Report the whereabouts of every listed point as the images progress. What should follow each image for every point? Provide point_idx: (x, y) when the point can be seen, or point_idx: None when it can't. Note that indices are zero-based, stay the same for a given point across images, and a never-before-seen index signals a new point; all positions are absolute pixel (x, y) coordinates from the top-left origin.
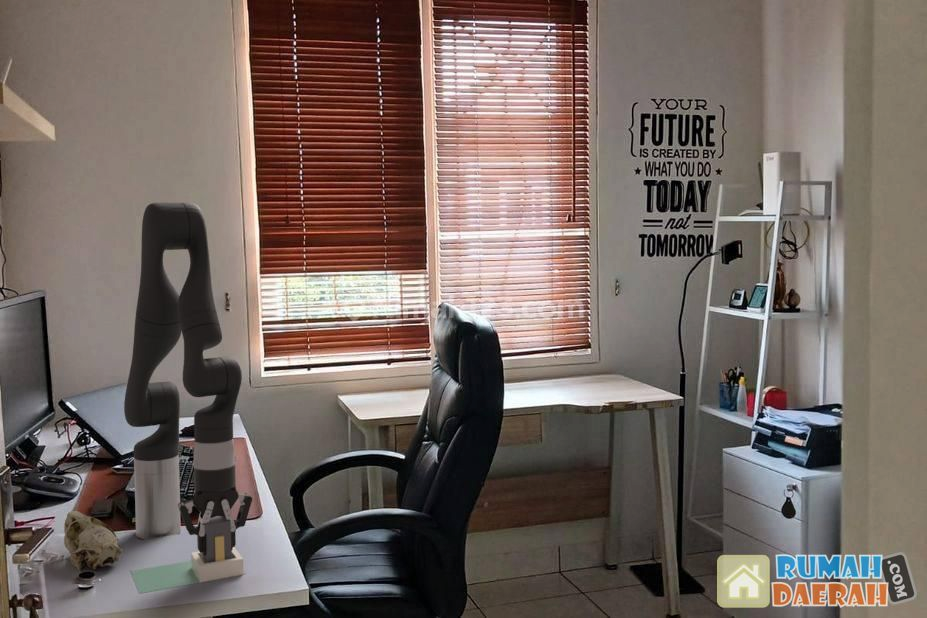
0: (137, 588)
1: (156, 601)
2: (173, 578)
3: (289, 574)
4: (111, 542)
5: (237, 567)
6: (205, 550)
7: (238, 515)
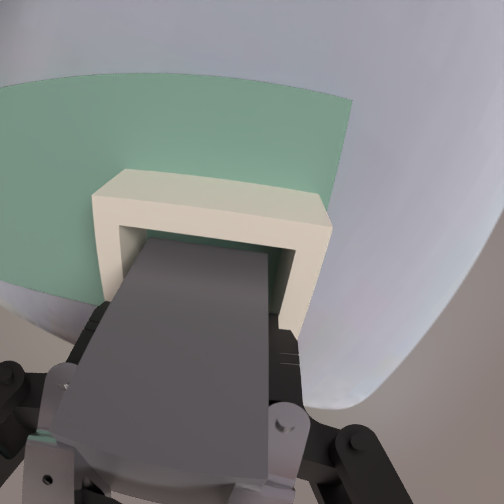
0: None
1: (41, 306)
2: (60, 235)
3: (397, 350)
4: None
5: None
6: None
7: (349, 487)
